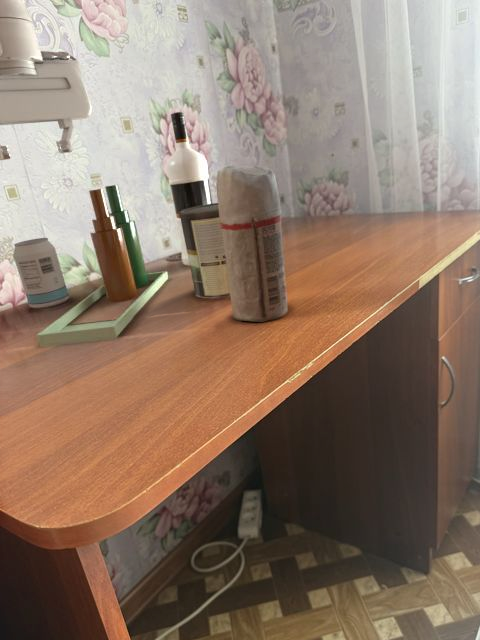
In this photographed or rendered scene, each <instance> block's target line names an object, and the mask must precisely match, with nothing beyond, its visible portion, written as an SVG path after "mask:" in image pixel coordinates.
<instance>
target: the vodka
mask: <svg viewBox="0 0 480 640" xmlns="http://www.w3.org/2000/svg"><path fill="white" fill-rule="evenodd" d="M170 118H171V123H172V130H173V135H174V139H175V147H176V150H175V151H174V152H173V153H172V154H171V155H170V157H169V158H168V159H167V161H166V163H165V171H166V175H167V178H168V183H169V187H170V192H171V196H172V197H171V198H172V201H173V206H174V211H175V217H176V220H175V221H176V224H177V227H178V231H179V240H180V249H181V255H180V256H181V262H182V264H183V265H185V266H190V264H189V259H188V254H187V249H186V243H185V238H184V233H183V228H182V223H181V218H180V216H179V212H180V211H182V210H184V209H188V208H192V207H196V206H201V205H207V204H213V198H212V192H211V186H210V180H209V177H210V174H209V171H208V170H209V169H208V162H207V159H206V157H205V156H204V154H202V153H200V152H198V151H197V150H195V149H193V148H192V147H191V146H190V141H189V136H188V129H187V125H186V119H185V113H184V112H182V111H181V112H180V111H175V112H173V113H170Z"/></svg>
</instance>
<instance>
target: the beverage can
mask: <svg viewBox="0 0 480 640" xmlns="http://www.w3.org/2000/svg"><path fill="white" fill-rule="evenodd" d="M13 245H14V249H13V254H12V256H13V259H14V263H15V266H16V269H17V272H18V275H19V278H20V282H21V285H22V287H23V290H24V293H25V296H26V300H27V303H28V305H29V307H30V308H32V309H35V310H42V309H49V308H53V307H56V306H60V305H62V304H64V303H66V302H67V301H68V300H70V295H69V291H68V288H67V285H66V281H65V278H64V274H63V271H62V267H61V264H60V261H59V258H58V254H57V251H56V248H55V246H54V245H53V244H52V242H51V241H50V240H49V239H48V237H39V238H32V239H28V240H23V241H19V242H15V243H13Z"/></svg>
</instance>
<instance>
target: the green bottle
mask: <svg viewBox="0 0 480 640" xmlns="http://www.w3.org/2000/svg"><path fill="white" fill-rule="evenodd" d="M104 188H105V192H106V197H107V201H108V204H109V208H110V212H109V216H114V218H115V222H116V226H117V227H122V231H123V235H124V239H125V243H126V247H127V251H128V256H129V260H130V264H131V268H132V272H133V276H134V281H135V285H136V289H137V290H139V289H142V288H145V287H147V286H150V281H149V280H148V276H147V274H148V272H147V267H146V263H145V259H144V255H143V250H142V247H141V242H140V237H139V233H138V228H137V224H136V220H134V219H130V213H129V210H128V209H124V205H123V201H122V197H121V193H120V189H119V185H118V184H111V185H106V186H104Z"/></svg>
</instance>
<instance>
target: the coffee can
mask: <svg viewBox="0 0 480 640" xmlns="http://www.w3.org/2000/svg"><path fill="white" fill-rule="evenodd" d="M212 203H213V202H212ZM179 216H180V218H181V223H182V228H183V233H184V238H185V243H186V249H187V254H188V259H189V264H190V265H189V268H190V273H191V274H190V275H191V278H192V284H193V289H194V295H195V296H196V297H198V298H204V299H216V298H225V297H230V293H229V286H228V278H227V267H226V260H225V251H224V250H223V249H224V246H223V239H222V232H221V227H220V217H219V208H218V202H214V203H213V204H207V205H201V206H196V207H192V208H188V209H184V210H182V211H180V212H179Z"/></svg>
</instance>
